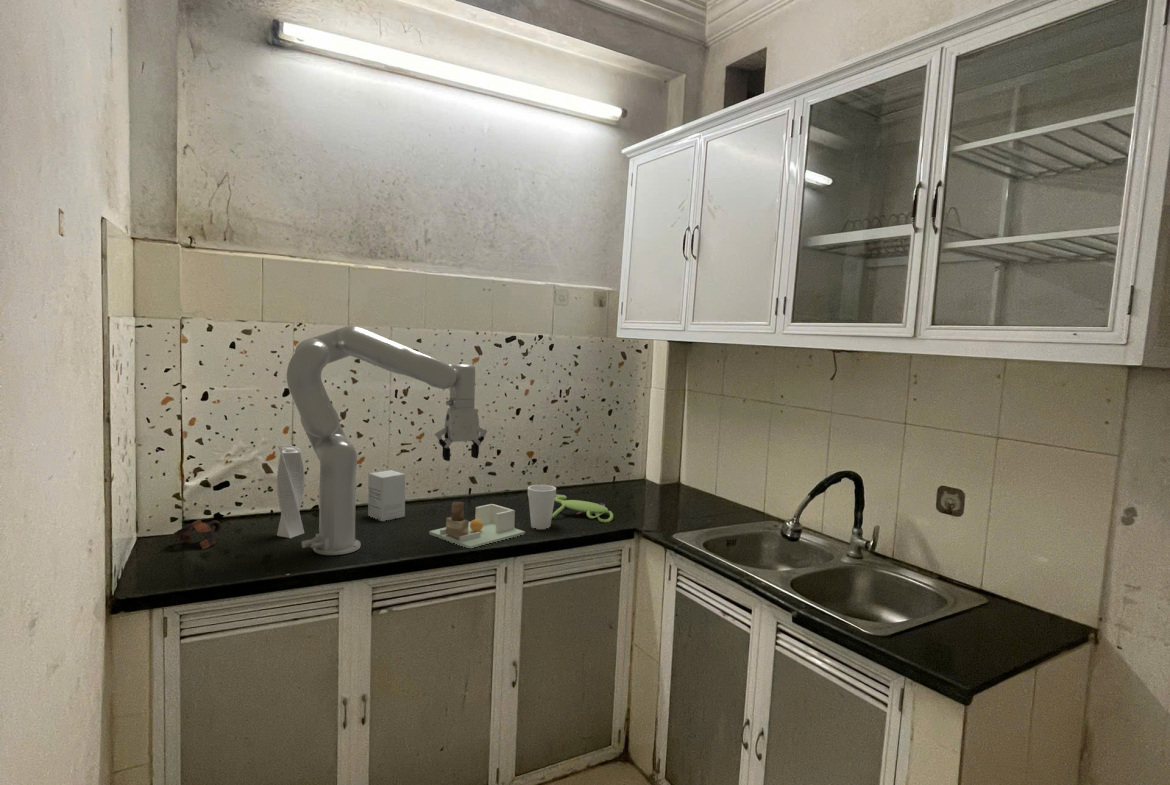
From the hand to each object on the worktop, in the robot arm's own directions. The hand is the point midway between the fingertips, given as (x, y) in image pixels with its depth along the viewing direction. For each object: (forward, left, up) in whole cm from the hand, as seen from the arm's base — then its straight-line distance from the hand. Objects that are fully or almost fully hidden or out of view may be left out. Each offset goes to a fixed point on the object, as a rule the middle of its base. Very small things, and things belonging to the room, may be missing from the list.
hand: (460, 458), depth 196 cm
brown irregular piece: (-60, +41, -24) cm, 76 cm away
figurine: (+46, -8, -25) cm, 52 cm away
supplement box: (-6, +32, -24) cm, 41 cm away
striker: (-4, -4, -23) cm, 23 cm away
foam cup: (+25, -11, -24) cm, 37 cm away
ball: (+4, -4, -21) cm, 22 cm away
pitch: (+4, -4, -24) cm, 25 cm away
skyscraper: (-38, +33, -24) cm, 56 cm away
